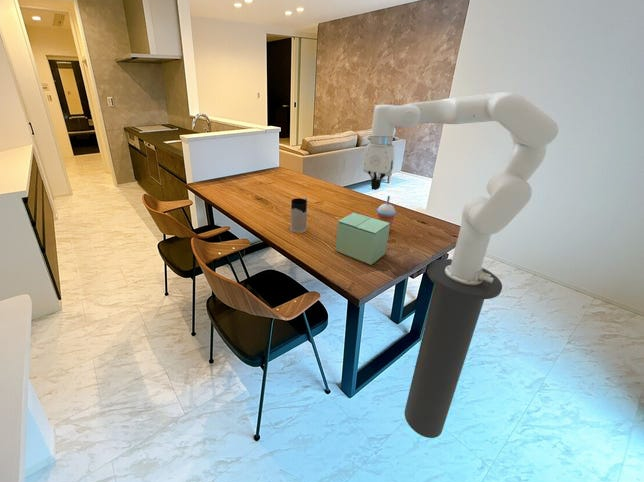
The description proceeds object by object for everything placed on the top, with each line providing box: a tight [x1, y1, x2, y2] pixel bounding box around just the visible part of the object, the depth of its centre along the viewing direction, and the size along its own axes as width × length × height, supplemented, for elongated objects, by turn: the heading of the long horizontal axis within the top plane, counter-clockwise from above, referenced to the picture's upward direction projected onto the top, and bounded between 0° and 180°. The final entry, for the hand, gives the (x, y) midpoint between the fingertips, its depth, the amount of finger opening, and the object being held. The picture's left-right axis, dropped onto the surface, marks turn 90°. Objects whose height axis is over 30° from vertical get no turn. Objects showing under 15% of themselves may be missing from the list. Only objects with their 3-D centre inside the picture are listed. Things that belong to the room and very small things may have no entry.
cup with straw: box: [376, 195, 397, 232], centre depth 144 cm, size 9×9×18 cm
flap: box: [356, 217, 390, 234], centre depth 119 cm, size 8×13×1 cm, turn 136°
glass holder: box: [289, 197, 308, 234], centre depth 148 cm, size 9×14×15 cm, turn 152°
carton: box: [335, 212, 391, 266], centre depth 125 cm, size 17×13×14 cm
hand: (375, 188), depth 115 cm, fingers closed
